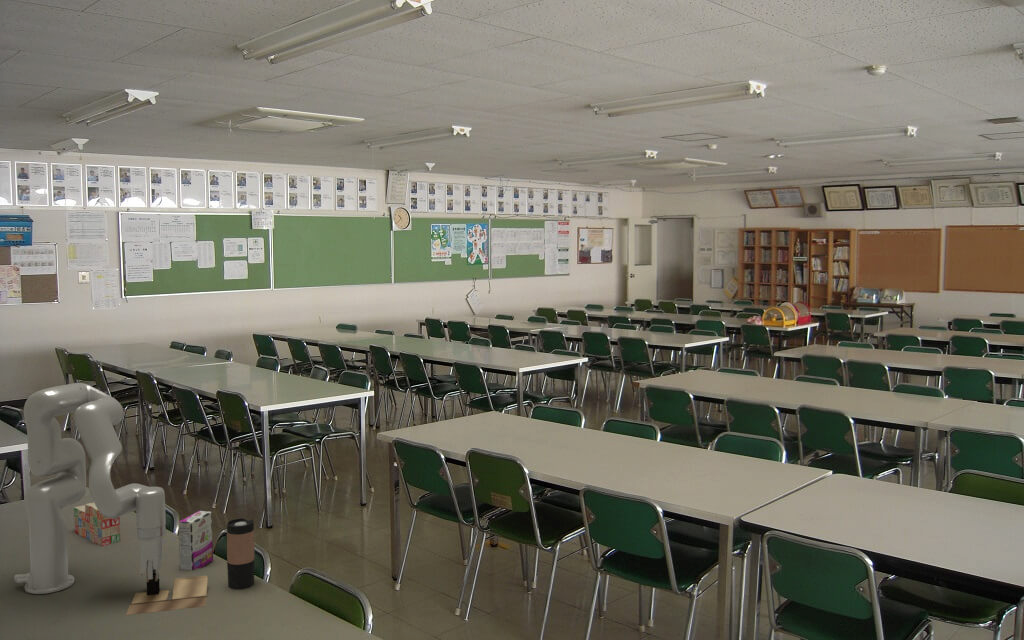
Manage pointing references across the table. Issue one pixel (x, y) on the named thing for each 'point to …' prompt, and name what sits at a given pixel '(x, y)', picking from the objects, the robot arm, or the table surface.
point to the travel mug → (240, 553)
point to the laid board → (166, 605)
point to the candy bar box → (195, 540)
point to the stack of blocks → (96, 525)
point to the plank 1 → (150, 597)
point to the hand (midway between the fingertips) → (153, 593)
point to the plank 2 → (190, 587)
